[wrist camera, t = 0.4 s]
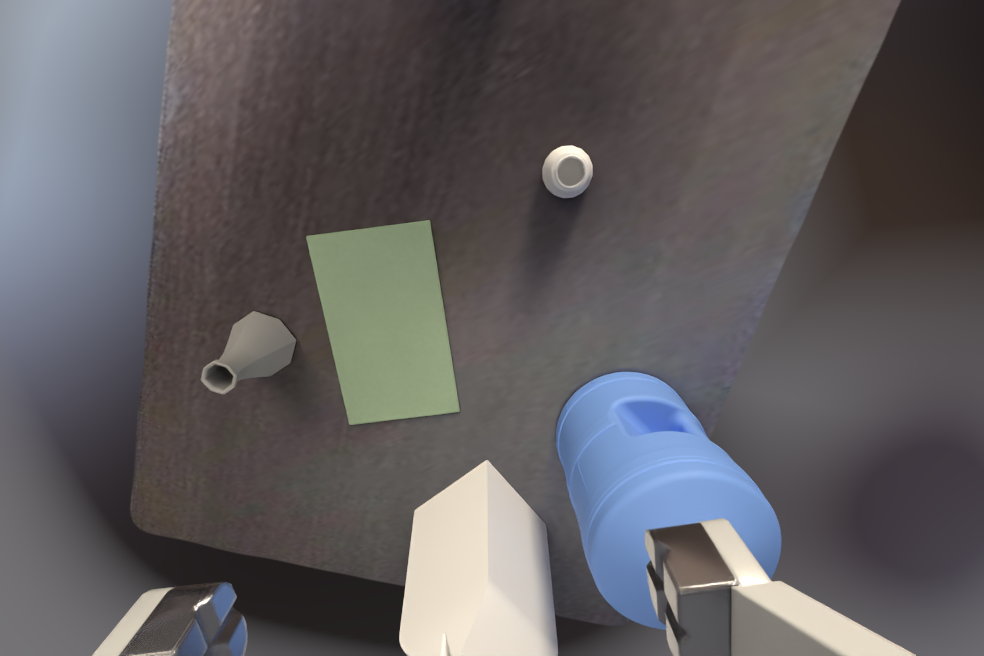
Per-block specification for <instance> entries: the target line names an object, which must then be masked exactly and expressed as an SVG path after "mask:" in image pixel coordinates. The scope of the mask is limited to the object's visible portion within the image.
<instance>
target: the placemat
mask: <svg viewBox="0 0 984 656" xmlns="http://www.w3.org/2000/svg"><path fill="white" fill-rule="evenodd" d="M306 239H307V243H308V248H309V252H310V256H311V261H312V265H313V269H314V274H315V278H316V282H317V287H318V291H319V295H320V300H321V304H322V308H323V313H324V317H325V321H326V326H327V330H328V334H329V339H330V343H331V347H332V352H333V356H334V360H335V365H336V369H337V374H338V378H339V382H340V387H341V391H342V395H343V400H344V404H345V408H346V413H347V417H348V421H349V425H354V424H362V423H370V422H379V421H387V420H396V419H404V418H412V417H421V416H429V415H438V414H446V413H454V412H460V408H459V402H458V395H457V389H456V383H455V376H454V370H453V364H452V357H451V351H450V345H449V338H448V332H447V325H446V319H445V313H444V306H443V300H442V294H441V287H440V281H439V275H438V268H437V262H436V256H435V249H434V243H433V236H432V230H431V224H430V220H427V221H419V222H412V223H404V224H396V225H388V226H380V227H372V228H365V229H357V230H349V231H341V232H333V233H326V234H318V235H310V236H306Z"/></svg>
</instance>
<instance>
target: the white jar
mask: <svg viewBox="0 0 984 656" xmlns="http://www.w3.org/2000/svg"><path fill="white" fill-rule="evenodd" d="M592 176H593V165H592V163H591V160H590V158H589V156H588V155H587V154H586V153H585V152H584V151H583V150H582V149H580V148H578V147H575V146H561V147H559V148H557V149H555V150H553V151H552V152H551V153H550V154H549V156H548V157H547V158H546V159H545V162H544V165H543V168H542V178H543V181H544V183H545V186H546V188H547V189H548V190H549V191H550V192H551V193H552V194H553V195H556V196H558V197H561V198H573V197H575V196H577V195H579V194H581V193H583V191H584V190H585V189H586V188H587V187H588V186H589V184H590V181H591V179H592Z"/></svg>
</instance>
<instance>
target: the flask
mask: <svg viewBox="0 0 984 656" xmlns="http://www.w3.org/2000/svg"><path fill="white" fill-rule="evenodd" d="M295 344H296V339H295V338H294V336H293V335H292V334H291V333H290V332H289V330H288V329H287V328H286V327H285V325H284V324H283V323H282V322H281V321H280V319H277V318H274V317H271V316H268V315H265V314H262V313H259V312H255V311H253V312H251V313H250V314H248V315H247V316H245V317H244V318H243V319H241V320H240V321H238V322H237V323H235V324H234V325H233V327H232V330H231V334H230V337H229V340H228V343H227V346H226V348H225V351H224V353H223V355H222V356H221V357H220V359H219V360H214V361H213V362H211V363H210V364H208V365H207V366H205V367H204V368H203V372H202V377H201V381H202V382H203V383H204V384H205V385H206V387H207V388H208V389H209V390H210V391H213V392H216V393H220V394H223V395H224V394H226V393H227V392H228V391H230V390H231V389H233V388H234V387H235V386H236V383H237V381H239V380H242V379H247V378H254V377H267V376H272V375H273V374H275V373H276V372H278V371H279V370H281V369H282V368H284V367H285V366H287V365H288V364H290V363H291V359H292V355H293V352H294V348H295Z"/></svg>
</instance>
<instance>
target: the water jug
mask: <svg viewBox="0 0 984 656" xmlns="http://www.w3.org/2000/svg"><path fill="white" fill-rule="evenodd" d="M556 446H557V451H558V454H559V458H560V461H561V464H562V466H563V468H564V472H565V475H566V481H567V488H568V492H569V496H570V500H571V503H572V506H573V508H574V510H575V513H576V516H577V520H578V524H579V528H580V531H581V539H582V545H583V549H584V553H585V556H586V560H587V563H588V566H589V568H590V571H591V573H592V576H593V579H594V581H595V584H596V586H597V588H598V590H599V591H600V593H601V594H602V596H603V597H604V598H605V600H606V601H607V602H608V603H609V604H610V605H611V606H612V607H613V608H614V609H615V610H616V611H618V612H619V613H620V614H622V615H623V616H625V617H627V618H628V619H630V620H632V621H635V622H637V623H639V624H642V625H645V626H649V627H653V628H657V629H665V630H666V625H664V624H663V623H662V622H660V621H659V620H658V617H657V615H656V612H655V609H654V606H653V603H652V600H651V596H650V591H649V586H648V580H647V569H646V566H647V564H648V563H649V561H650V557H649V555H648V553H647V550H646V548H645V530H646V529H652V528H659V527H667V526H675V525H682V524H690V523H697V522H700V521H707V520H713V519H720V518H724V519H726V520H728V521H729V522H730V524H731V525H732V527H733V528H734V529H735V531H736V532H737V533H738V535H739V536H740V538H741V539H742V540H743V542H744V543H745V545H746V546H747V547H748V549H749V550H750V552H751V553H752V554H753V556H754V557H755V559H756V560H757V561H758V563H759V564H760V566H761V567H762V568H763V570H764V571H765V573H766V574H767V575H768V577H769V578H770V580H771V578H772V576H773V574H774V572H775V570H776V567H777V564H778V561H779V557H780V552H781V532H780V526H779V523H778V520H777V517H776V514H775V512H774V510H773V509H772V507H771V505H770V504H769V502H768V501H767V500H766V498H765V497H764V495H763V494H762V492H761V491H760V489H759V488H758V487H757V485H756V484H755V483H754V482H753V480H752V479H751V478H750V477H749V476H748V475H747V473H746V472H745V471H743V469H742V468H741V467H739V466H738V465H737V464H736V463H735V462H734V461H733V460H732V459H731V458H730V457H729V455H728V454H727V453H726V452H725V451H724V450H723V449H721V448H720V447H719V446H717V445H716V444H714V443H713V442H711V441H710V440H709V439H708V438H707V436H706V433H705V431H704V429H703V427H702V425H701V424H700V422H699V421H698V419H697V418H696V417H695V416H694V415H693V414H692V412H691V411H690V410H689V409H688V407H687V406H686V404H685V403H684V401H683V400H682V399H681V398H680V396H679V395H678V394H677V393H676V392H675V391H674V390H673V389H672V388H671V387H670V386H669V385H667V384H666V383H664V382H663V381H661V380H659V379H657V378H655V377H653V376H650V375H647V374H643V373H637V372H617V373H612V374H607V375H604V376H601V377H599V378H596V379H594V380H592V381H590V382H589V383H587V384H585V385H584V386H583V387H581V388H580V389H579V390H578V391H577V392H576V393H574V395H573V396H572V397H571V398H570V399H569V400H568V402H567V403H566V405H565V406H564V408H563V410H562V412H561V414H560V417H559V419H558V423H557V428H556Z"/></svg>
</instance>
